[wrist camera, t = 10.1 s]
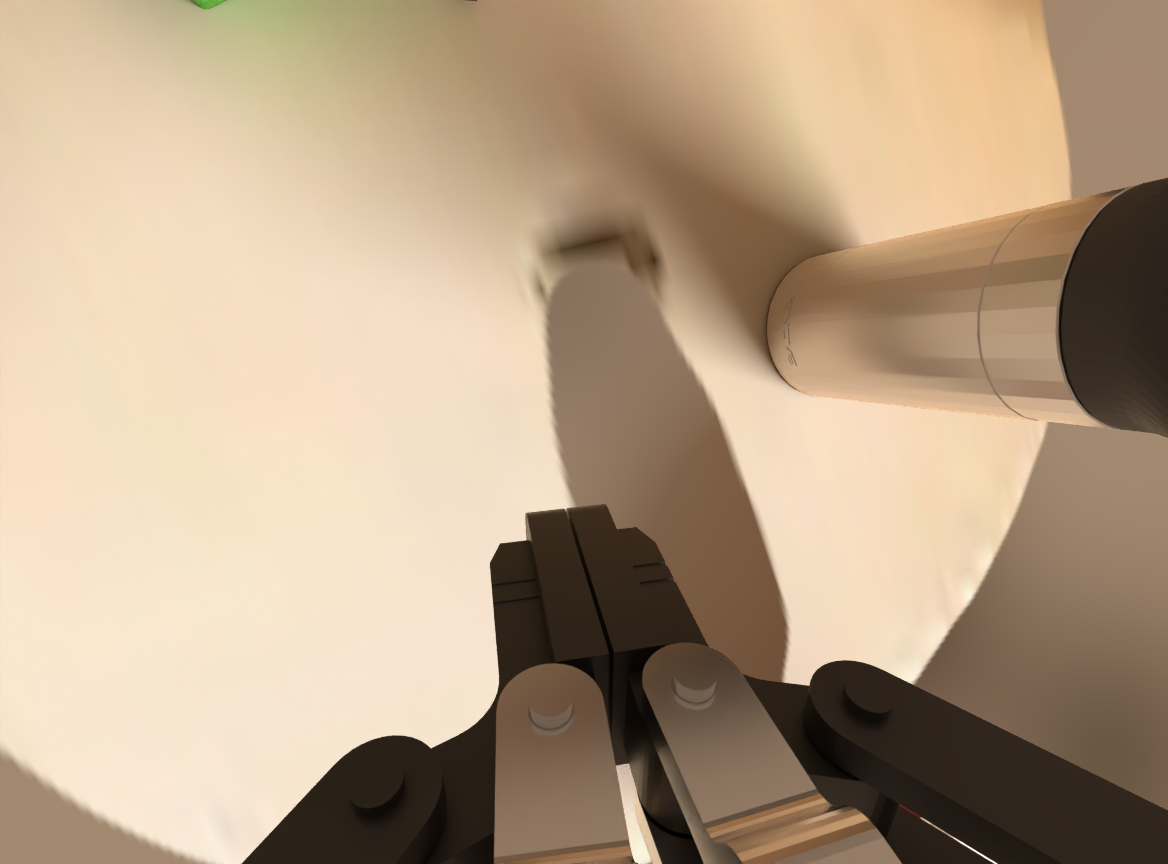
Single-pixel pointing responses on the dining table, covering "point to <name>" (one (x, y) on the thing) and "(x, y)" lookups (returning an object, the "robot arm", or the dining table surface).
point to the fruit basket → (208, 3)
